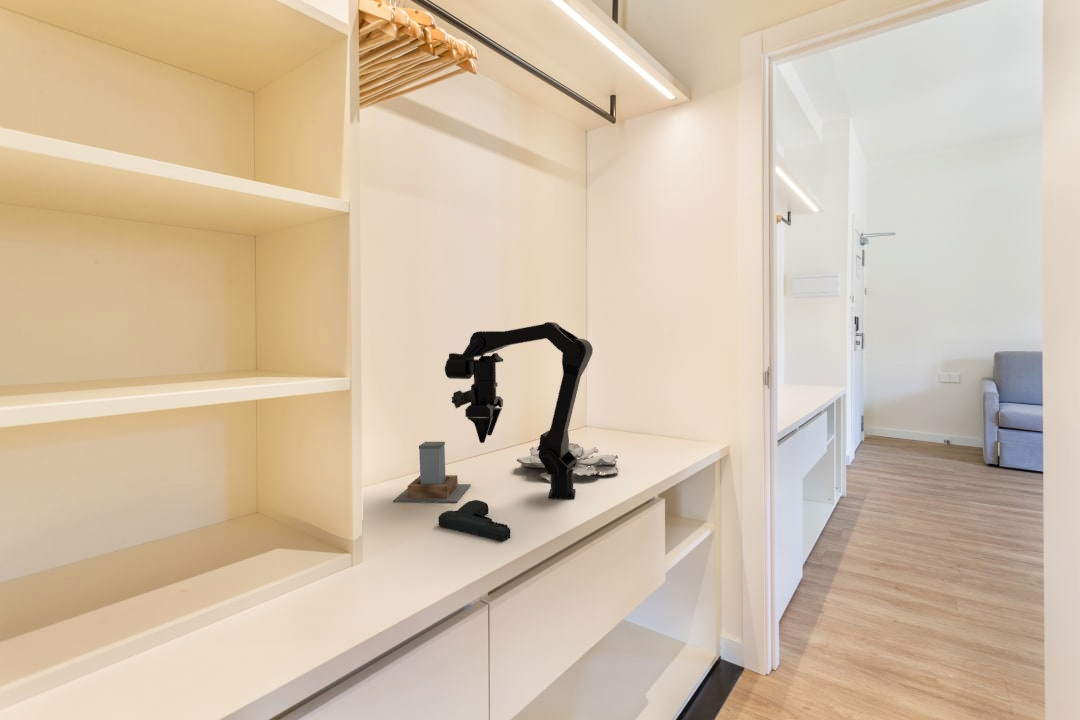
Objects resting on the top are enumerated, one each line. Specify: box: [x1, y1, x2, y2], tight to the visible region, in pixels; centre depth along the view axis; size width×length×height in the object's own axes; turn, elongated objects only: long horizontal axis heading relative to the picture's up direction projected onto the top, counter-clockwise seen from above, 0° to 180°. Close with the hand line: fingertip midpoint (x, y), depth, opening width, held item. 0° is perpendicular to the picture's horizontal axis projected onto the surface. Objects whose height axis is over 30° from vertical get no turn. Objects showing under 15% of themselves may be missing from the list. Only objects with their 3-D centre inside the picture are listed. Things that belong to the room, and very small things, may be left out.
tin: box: [418, 441, 446, 484], centre depth 133 cm, size 5×5×12 cm
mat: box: [392, 483, 472, 504], centre depth 134 cm, size 16×14×1 cm
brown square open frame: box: [407, 474, 459, 498], centre depth 133 cm, size 10×10×3 cm
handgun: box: [437, 499, 511, 543], centre depth 111 cm, size 3×18×12 cm
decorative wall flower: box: [516, 442, 619, 482], centre depth 155 cm, size 30×7×30 cm
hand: (485, 438), depth 136 cm, fingers open, 9 cm apart
